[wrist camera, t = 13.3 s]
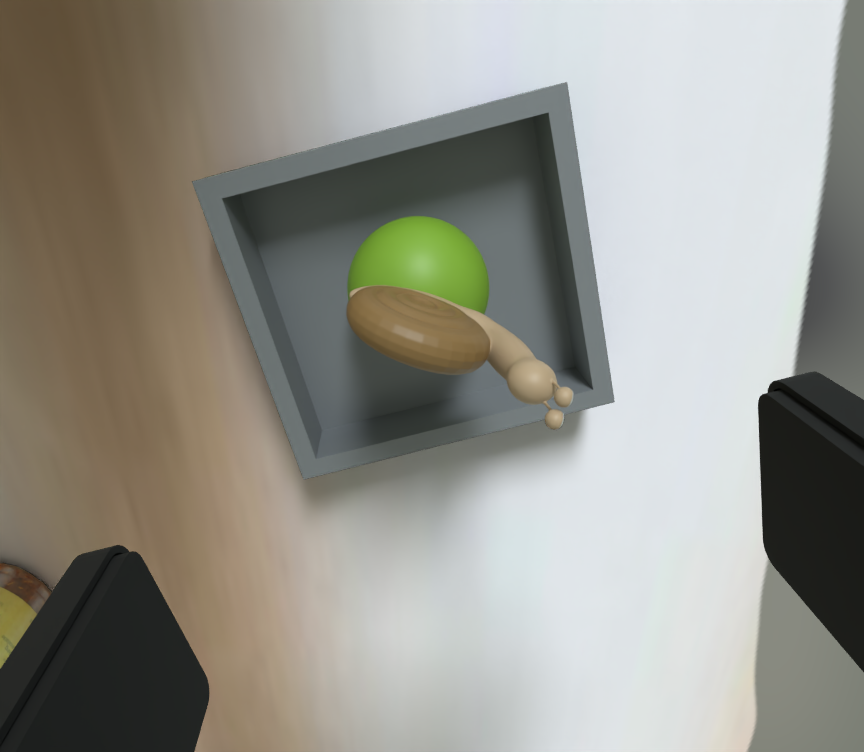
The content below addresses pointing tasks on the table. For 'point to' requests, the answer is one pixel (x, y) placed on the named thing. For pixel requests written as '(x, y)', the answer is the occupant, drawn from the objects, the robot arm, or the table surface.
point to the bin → (387, 201)
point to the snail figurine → (440, 310)
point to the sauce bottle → (18, 605)
